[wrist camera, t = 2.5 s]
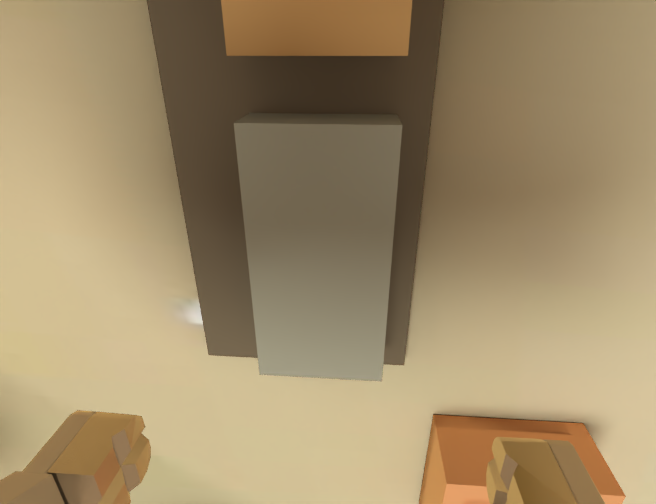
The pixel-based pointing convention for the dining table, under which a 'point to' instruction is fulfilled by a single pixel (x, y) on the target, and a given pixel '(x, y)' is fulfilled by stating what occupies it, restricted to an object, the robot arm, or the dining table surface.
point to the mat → (281, 97)
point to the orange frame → (475, 452)
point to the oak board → (316, 27)
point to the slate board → (319, 238)
